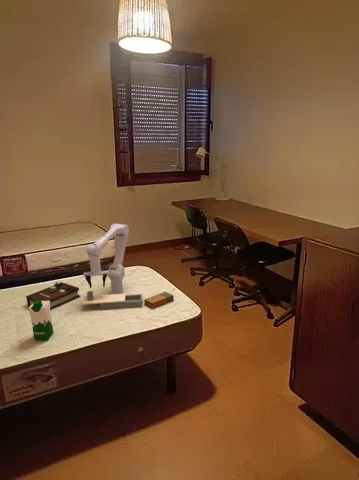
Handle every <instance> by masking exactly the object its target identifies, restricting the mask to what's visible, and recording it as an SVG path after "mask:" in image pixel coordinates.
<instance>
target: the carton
mask: <svg viewBox="0 0 359 480" xmlns="http://www.w3.org/2000/svg"><path fill="white" fill-rule="evenodd" d="M143 301H144V302H143V305H144V306H146V307H147V308H149V309H151V310H156V309H157V308H159V307H162V306H164V305H167V304H170V303H172V302H174V301H175V296H174V294H171V293H169V292H167V291H163V292H161V293H157V294H155V295H151V296H150V297H145V298H143Z"/></svg>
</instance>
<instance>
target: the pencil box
mask: <svg viewBox="0 0 359 480" xmlns="http://www.w3.org/2000/svg"><path fill="white" fill-rule="evenodd" d="M143 301H144V298H143V294H142V293H139V294H137V293H136V294H126V296H125V302H115V303H100V304H99V305H100V310H115V309H116V310H117V309H130V308H142V307H143V305H144V302H143Z"/></svg>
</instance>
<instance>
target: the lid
mask: <svg viewBox="0 0 359 480" xmlns="http://www.w3.org/2000/svg"><path fill="white" fill-rule="evenodd" d="M126 295H127V293H124V294H113V295H111V294H103V295H102V294H101V295H99V294H98V295H94V291H93V290H91V291H87V292H86V296H84V298H83V300H82V303H81V304H82V305H97V304H99V305H100V303H115V302H125V296H126Z"/></svg>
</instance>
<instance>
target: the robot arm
mask: <svg viewBox="0 0 359 480" xmlns="http://www.w3.org/2000/svg"><path fill="white" fill-rule="evenodd" d="M129 233H130V228H129V226H128V225H127V224H123V223H115V222H114V223H112V224H111V225H110V229H109V230H108V231H107V232H106V234H104V236H101V237H98V239H97V240H96V241H95V242H93V244H90V245H88V246H87V248H86V254H87V255H88V258H89V265H90V271H86V272H83V274H82V275H83V277H84V278H85V280H86V282H87V284H88V286H89V288H90V289H92V287H93V285H92V279H91V278H92V277H98V276H102V277H101V278H102V286H103V287H102V288H105V287H106V281H107V277H108V278H109V280H110V287H111V288H110V289H111V290H110V295H113V294H125V287H124V286H123V280H124V278H125V275H126V274H125V271H126V269H125V267H124V266H123V261H124V256H125V252H126V246H127V242H128V238H129ZM113 237H117V239H118V240H117V245H116V250H115V254H114V259H113V263H112V264H111V265H109V268H108V271H107V270H102V268H101V256H100V255H101V254H102V251H103V250H104V248H105V247H106V246H107V245H108V241H110V240H112V238H113Z"/></svg>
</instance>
